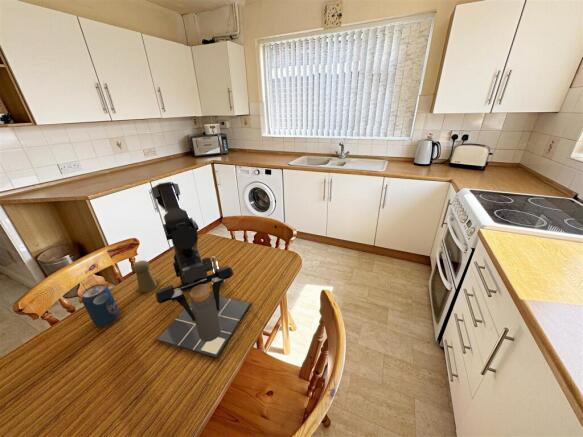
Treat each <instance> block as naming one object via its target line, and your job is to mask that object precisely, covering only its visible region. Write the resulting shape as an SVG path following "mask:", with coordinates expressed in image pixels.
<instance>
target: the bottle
mask: <svg viewBox="0 0 583 437" xmlns="http://www.w3.org/2000/svg"><path fill="white" fill-rule="evenodd" d="M212 295H213V291H211V286H209V284H207V283H206V284H200V285H197V286H195V287H194V288H192V289H191V290H189V296H190V303H192V306H191V309H192V313H193V315H194V319H195V324H196V327H197V331H198V334H199V337H200V339H201V340H202V341H204V342H209V341H213V340H214V339H216V338H217V337H218V336H219V335H220V333H221V325H220V320H219V316H218V311H217V307H216V302H215V299H214V298H213V297H212Z"/></svg>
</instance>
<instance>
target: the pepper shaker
mask: <svg viewBox="0 0 583 437" xmlns="http://www.w3.org/2000/svg"><path fill="white" fill-rule="evenodd" d="M132 270H133V273H135V274H136V280H137V286H138V290H139V292H141V293H148V292H150V291H151V292H152V290H154V289H155V288H157V286H158V283H157V281H156V279H155V276H154V275H153V274H152V272H151V270H150V264H149V262H148V261H147V260H143V259H142V260H138V261H136V262H134V263H133V265H132Z"/></svg>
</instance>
